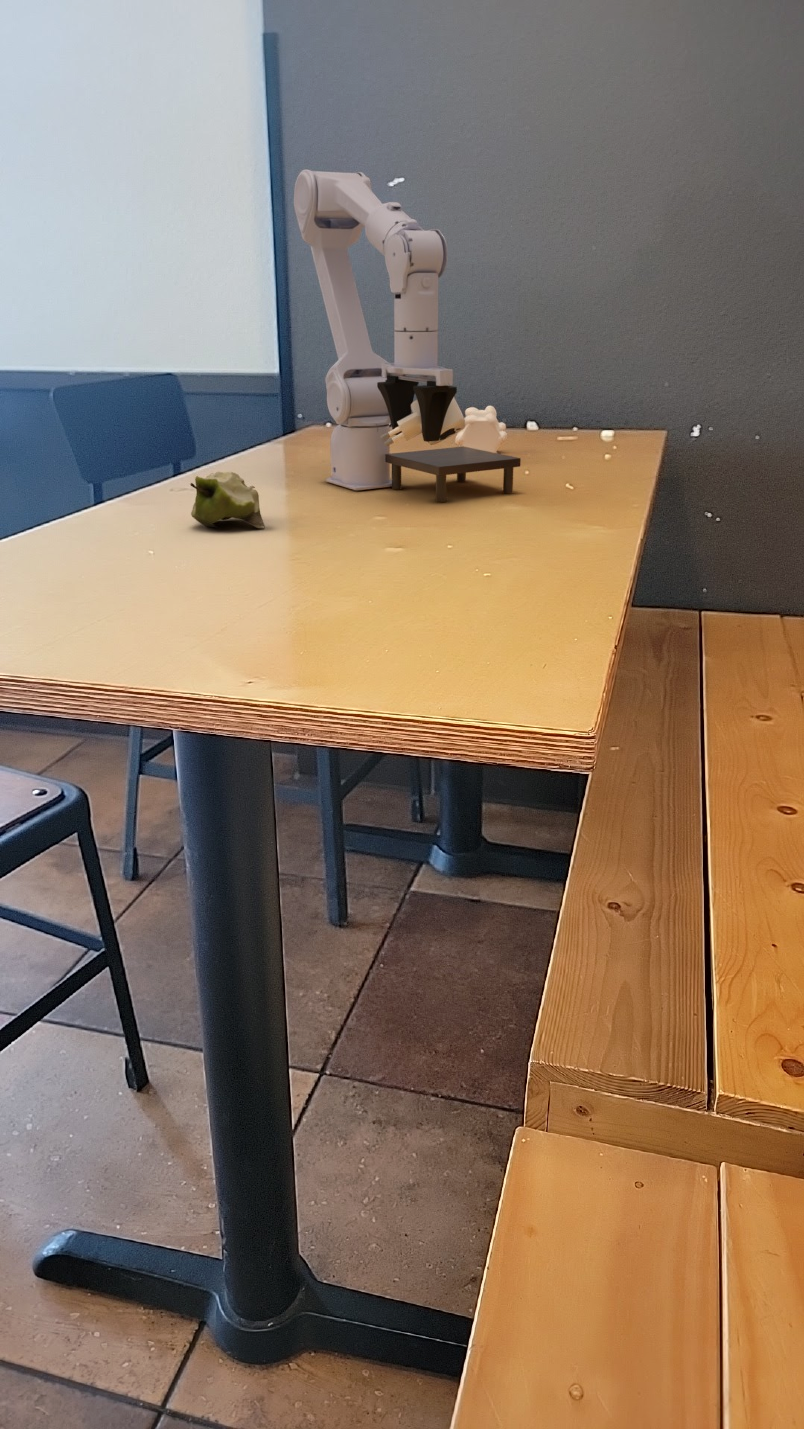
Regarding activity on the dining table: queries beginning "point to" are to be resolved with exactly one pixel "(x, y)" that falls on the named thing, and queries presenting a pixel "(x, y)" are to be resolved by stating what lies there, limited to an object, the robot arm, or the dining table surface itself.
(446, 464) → the stool
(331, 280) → the robot arm
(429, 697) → the dining table surface
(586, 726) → the dining table surface
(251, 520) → the fruit
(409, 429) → the power adapter
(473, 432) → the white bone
